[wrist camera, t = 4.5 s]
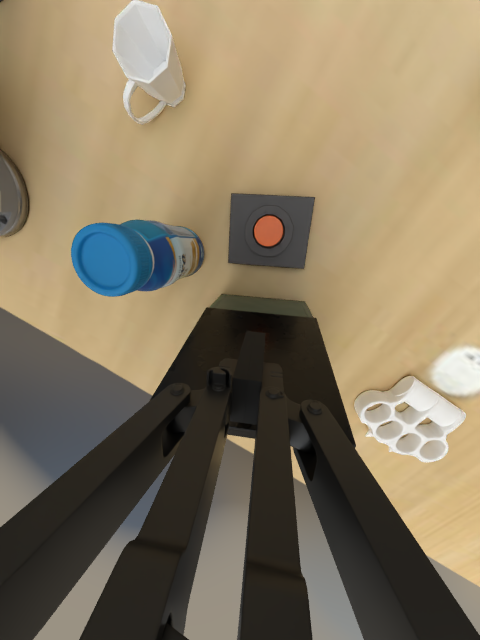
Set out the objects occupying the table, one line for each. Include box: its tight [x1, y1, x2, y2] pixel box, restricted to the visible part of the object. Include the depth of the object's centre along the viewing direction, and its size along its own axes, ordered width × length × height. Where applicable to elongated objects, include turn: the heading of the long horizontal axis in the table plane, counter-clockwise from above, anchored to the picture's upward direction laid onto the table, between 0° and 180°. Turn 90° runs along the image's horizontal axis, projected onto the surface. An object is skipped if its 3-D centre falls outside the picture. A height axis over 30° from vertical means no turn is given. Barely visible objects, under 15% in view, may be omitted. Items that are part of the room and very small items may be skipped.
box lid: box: [150, 307, 356, 448], centre depth 23 cm, size 18×15×1 cm
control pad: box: [228, 193, 315, 269], centre depth 35 cm, size 12×10×4 cm
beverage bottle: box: [71, 220, 204, 296], centre depth 31 cm, size 8×8×20 cm
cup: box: [112, 0, 186, 125], centre depth 30 cm, size 7×10×8 cm
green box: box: [209, 294, 314, 318], centre depth 39 cm, size 17×15×10 cm
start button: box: [254, 216, 283, 246], centre depth 33 cm, size 4×4×2 cm
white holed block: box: [354, 376, 466, 462], centre depth 43 cm, size 3×18×15 cm
